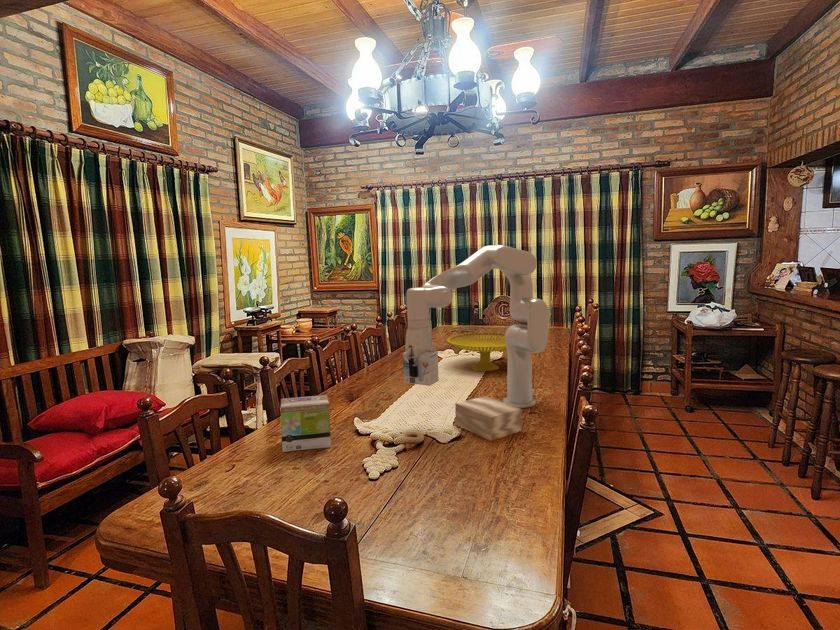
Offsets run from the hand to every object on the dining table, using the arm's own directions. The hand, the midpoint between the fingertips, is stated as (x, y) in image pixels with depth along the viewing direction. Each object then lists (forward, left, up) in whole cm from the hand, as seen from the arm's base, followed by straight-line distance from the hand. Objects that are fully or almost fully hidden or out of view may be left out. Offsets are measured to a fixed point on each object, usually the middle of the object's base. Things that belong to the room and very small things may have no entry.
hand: (421, 373), depth 164 cm
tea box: (+35, -20, -19) cm, 44 cm away
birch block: (-11, +20, -19) cm, 30 cm away
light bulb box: (0, 0, -3) cm, 3 cm away
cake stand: (-84, -24, -19) cm, 90 cm away
